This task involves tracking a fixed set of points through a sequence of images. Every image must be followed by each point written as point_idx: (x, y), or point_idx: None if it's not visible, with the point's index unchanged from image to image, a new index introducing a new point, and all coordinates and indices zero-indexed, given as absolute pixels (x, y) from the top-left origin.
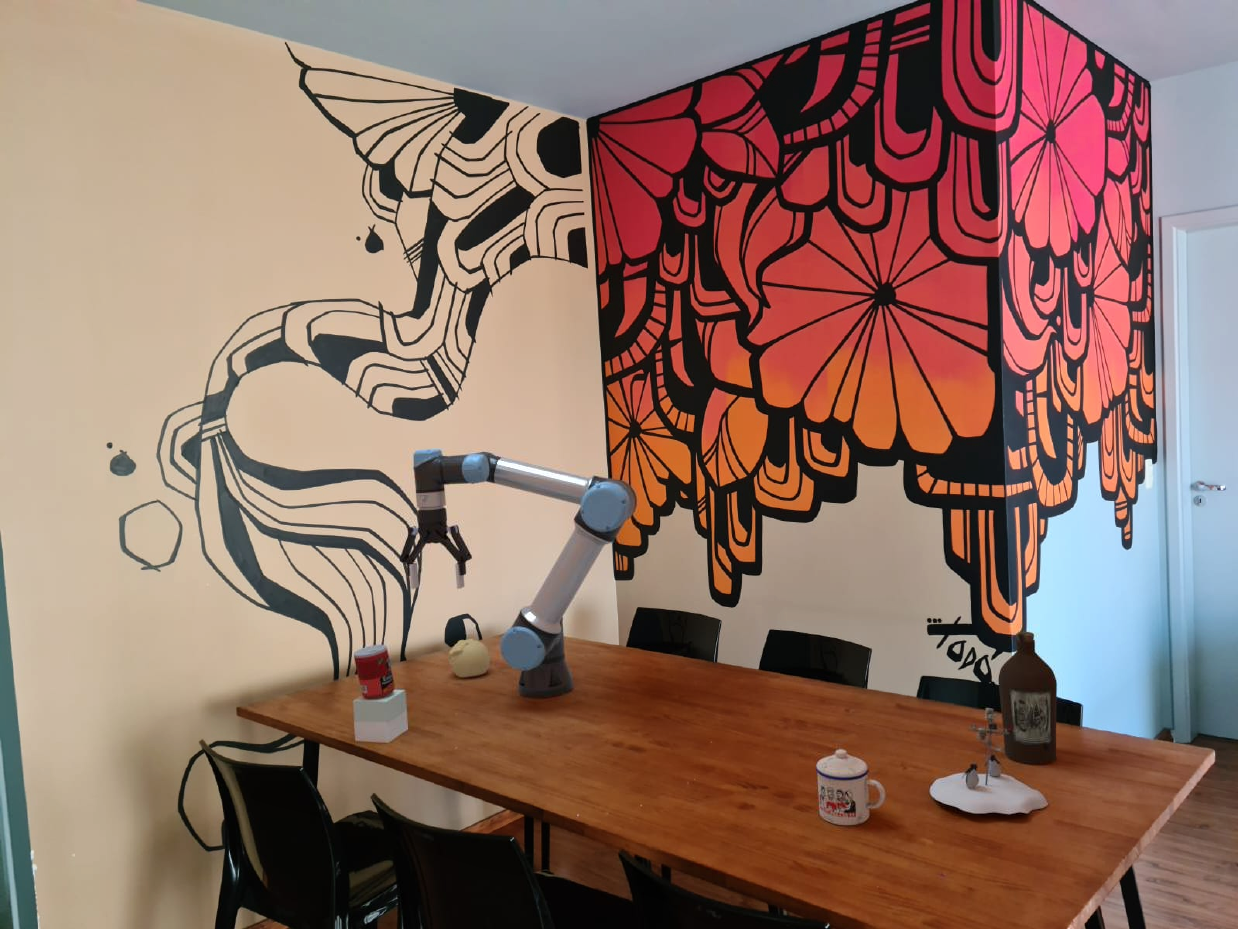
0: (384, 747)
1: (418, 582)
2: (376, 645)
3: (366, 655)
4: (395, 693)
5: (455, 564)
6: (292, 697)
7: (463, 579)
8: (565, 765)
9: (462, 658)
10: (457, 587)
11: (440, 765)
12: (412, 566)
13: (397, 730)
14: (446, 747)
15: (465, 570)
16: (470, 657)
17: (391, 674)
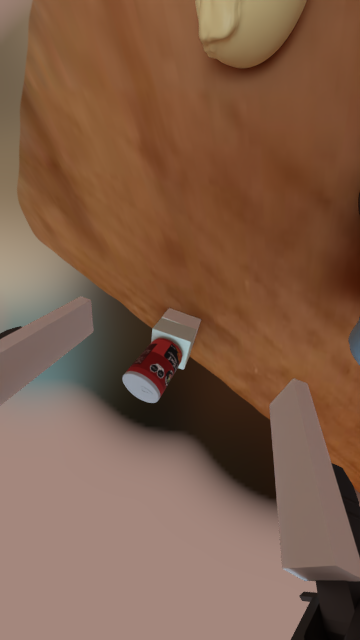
0: (193, 352)
1: (76, 308)
2: (138, 377)
3: (145, 400)
4: (183, 350)
5: (284, 564)
6: (26, 182)
7: (314, 420)
8: (355, 427)
9: (239, 49)
10: (272, 411)
11: (246, 394)
12: (3, 398)
13: (195, 336)
14: (247, 367)
15: (353, 507)
16: (262, 38)
17: (175, 368)
